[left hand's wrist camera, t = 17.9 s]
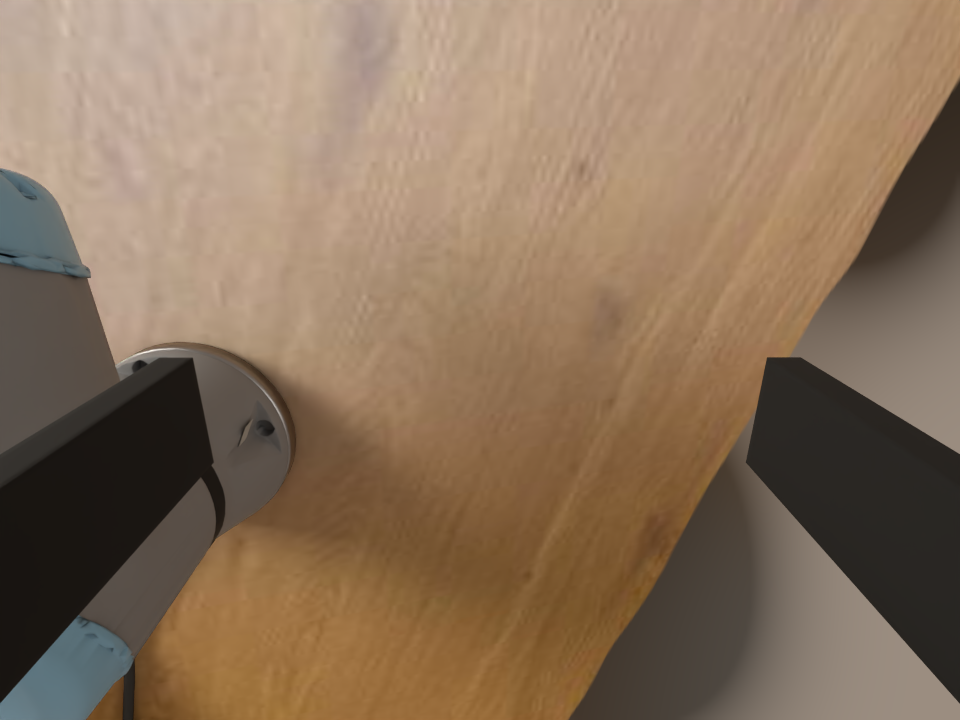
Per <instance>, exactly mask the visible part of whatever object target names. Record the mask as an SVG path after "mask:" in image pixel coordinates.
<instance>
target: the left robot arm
mask: <svg viewBox="0 0 960 720" xmlns="http://www.w3.org/2000/svg"><path fill="white" fill-rule="evenodd" d="M87 278H91V273H90V270H89V268H88V267H86V266H84V265H83V264H82V262H81V259H80V257H79V254H78V252H77V249H76V246H75V244H74V241H73V239H72V236H71V234H70V231H69V228H68V226H67V223H66V221H65V218H64V216H63V213H62V211H61V208H60V206H59V204H58V203H57V201H56V200H55V198H54V197H53V196H52V194H51V193H50V192H49V191H48V190H47V189H46V188H44V187H43V186H42V185H40V184H39V183H37V182H36V181H34V180H32V179H31V178H29V177H27V176H25V175H22V174H19V173H17V172H13V171H10V170H6V169H2V168H0V720H86V719H87V718H88V716H89V715H90V714H91V712H92V711H93V710H94V709H95V707H96V706H97V705H98V703H99V702H100V701H101V700H102V698H103V697H104V696H105V694H106V693H107V692H108V691H109V689H110V688H111V687H112V685H113V684H114V683H115V682H116V681H118V680H119V679H120V678H121V677H123V676H124V693H123V720H133V710H134V686H135V662H134V659H135V657H136V656H137V654H138V653H139V651H140V650H141V648H142V647H143V645H144V644H145V642H146V641H147V639H148V638H149V636H150V635H151V633H152V632H153V631H154V629H155V628H156V626H157V625H158V623H159V622H160V620H161V619H162V617H163V616H164V614H165V613H166V611H167V610H168V608H169V607H170V605H171V604H172V602H173V601H174V599H175V598H176V597H177V595H178V594H179V592H180V591H181V589H182V588H183V586H184V585H185V583H186V582H187V580H188V579H189V577H190V576H191V574H192V573H193V571H194V570H195V568H196V567H197V565H198V564H199V563H200V561H201V560H202V558H203V557H204V555H205V554H206V552H207V550H208V549H209V548H210V546H211V545H212V543H213V542H214V541H215V539H216V538H217V537H219V536H220V535H222V534H224V533H225V532H227V531H228V530H230V529H231V528H233V527H234V526H236V525H237V524H239V523H240V522H242V521H243V520H245V519H246V518H248V517H250V516H251V515H253V514H254V513H256V512H257V511H258V510H260V509H261V508H262V507H263V506H264V505H265V504H266V503H268V502H269V501H270V500H271V499H272V498H273V497H274V495H275V494H276V493H277V491H278V490H279V488H280V487H281V485H282V483H283V482H284V480H285V479H286V477H287V475H288V473H289V471H290V469H291V467H292V464H293V460H294V456H295V447H296V438H295V430H294V425H293V421H292V418H291V415H290V413H289V410H288V408H287V406H286V404H285V402H284V400H283V399H282V397H281V396H280V394H279V393H278V391H277V390H276V389H275V387H274V386H273V385H272V384H271V383H270V382H269V380H268V379H267V378H266V377H264V376H263V375H262V374H261V373H260V372H259V371H258V370H256V369H255V368H254V367H253V366H251V365H250V364H248V363H247V362H245V361H244V360H242V359H240V358H238V357H237V356H235V355H233V354H230V353H228V352H226V351H224V350H221V349H218V348H215V347H211V346H207V345H203V344H197V343H187V342H174V343H165V344H160V345H155V346H152V347H149V348H146V349H144V350H142V351H140V352H137V353H136V354H134V355H132V356H130V357H128V358H127V359H125V360H123V361H122V362H120V363H118V364H117V365H116V366H115V363H114V360H113V357H112V354H111V351H110V348H109V345H108V342H107V338H106V335H105V332H104V329H103V326H102V323H101V320H100V317H99V314H98V311H97V308H96V304H95V301H94V298H93V295H92V292H91V289H90V286H89V283H88V279H87ZM746 463H747V464H748V465H749V466H750V467H751V469H752V470H753V471H754V472H755V473H756V474H757V475H758V476H759V478H760V479H761V480H762V481H763V482H764V483H765V484H766V486H767V487H768V488H769V489H770V490H771V491H772V492H773V493H774V494H775V496H776V497H777V498H778V499H779V500H780V501H781V502H782V504H783V505H784V506H785V507H786V508H787V509H788V510H789V511H790V513H791V514H792V515H793V516H794V517H795V518H796V519H797V520H798V522H799V523H800V524H801V525H802V526H803V527H804V528H805V529H806V531H807V532H808V533H809V534H810V535H811V536H812V537H813V539H814V540H815V541H816V542H817V543H818V544H819V545H820V546H821V548H822V549H823V550H824V551H825V552H826V553H827V554H828V555H829V557H830V558H831V559H832V560H833V561H834V562H835V563H836V564H837V566H838V567H839V568H840V569H841V570H842V571H843V572H844V573H845V575H846V576H847V577H848V578H849V579H850V580H851V581H852V583H853V584H854V585H855V586H856V587H857V588H858V589H859V590H860V592H861V593H862V594H863V595H864V596H865V597H866V598H867V599H868V601H869V602H870V603H871V604H872V605H873V606H874V607H875V608H876V610H877V611H878V612H879V613H880V614H881V615H882V616H883V617H884V619H885V620H886V621H887V622H888V623H889V624H890V625H891V626H892V628H893V629H894V630H895V631H896V632H897V633H898V634H899V635H900V637H901V638H902V639H903V640H904V641H905V642H906V643H907V644H908V646H909V647H910V648H911V649H912V650H913V651H914V652H915V654H916V655H917V656H918V657H919V658H920V659H921V660H922V661H923V663H924V664H925V665H926V666H927V667H928V668H929V669H930V670H931V672H932V673H933V674H934V675H935V676H936V677H937V678H938V679H939V681H940V682H941V683H942V684H943V685H944V686H945V687H946V688H947V690H948V691H949V692H950V693H951V694H952V695H953V696H954V698H955V699H956V700H957V701H958V702H959V703H960V454H958V453H957V452H955V451H954V450H952V449H950V448H949V447H947V446H945V445H944V444H942V443H940V442H939V441H937V440H935V439H934V438H932V437H931V436H929V435H927V434H926V433H924V432H922V431H921V430H919V429H917V428H916V427H914V426H912V425H911V424H909V423H907V422H906V421H904V420H903V419H901V418H899V417H898V416H896V415H894V414H893V413H891V412H889V411H888V410H886V409H884V408H883V407H881V406H880V405H878V404H876V403H875V402H873V401H871V400H870V399H868V398H866V397H865V396H863V395H861V394H860V393H858V392H857V391H855V390H853V389H852V388H850V387H848V386H847V385H845V384H843V383H842V382H840V381H838V380H837V379H835V378H833V377H832V376H830V375H829V374H827V373H825V372H824V371H822V370H820V369H819V368H817V367H815V366H814V365H812V364H810V363H809V362H807V361H806V360H804V359H802V358H767V361H766V366H765V371H764V375H763V380H762V385H761V390H760V395H759V400H758V405H757V410H756V415H755V420H754V425H753V430H752V435H751V440H750V445H749V450H748V455H747V460H746Z"/></svg>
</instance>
